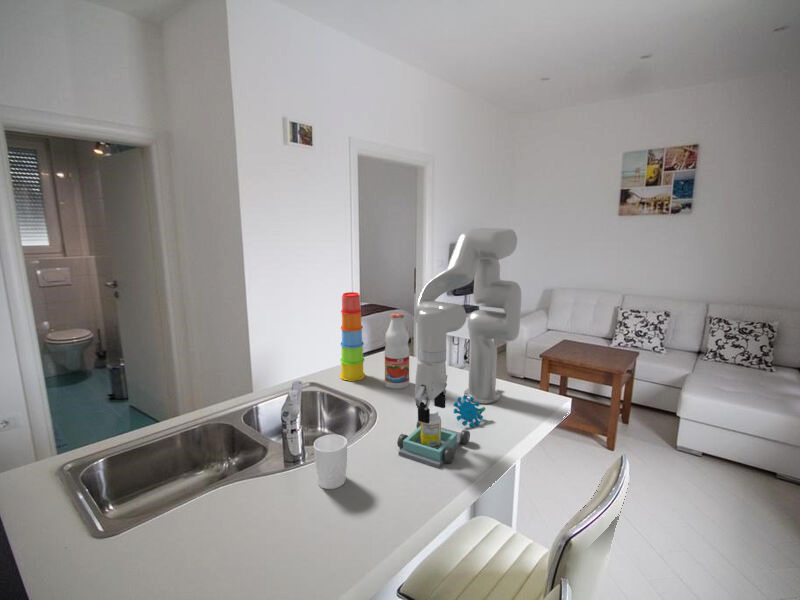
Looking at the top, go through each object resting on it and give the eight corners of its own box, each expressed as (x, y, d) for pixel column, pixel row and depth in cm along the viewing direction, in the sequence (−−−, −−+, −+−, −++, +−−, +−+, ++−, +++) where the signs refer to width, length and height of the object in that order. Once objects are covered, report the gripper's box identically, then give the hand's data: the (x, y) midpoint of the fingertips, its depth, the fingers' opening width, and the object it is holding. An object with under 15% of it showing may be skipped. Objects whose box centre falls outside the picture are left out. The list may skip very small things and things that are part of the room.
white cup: (320, 495, 94) (319, 455, 92) (311, 476, 101) (309, 439, 99) (353, 485, 98) (352, 446, 96) (341, 467, 104) (340, 431, 103)
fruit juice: (406, 379, 164) (406, 311, 159) (411, 388, 155) (411, 316, 150) (383, 381, 163) (382, 311, 158) (386, 390, 154) (386, 317, 149)
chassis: (423, 425, 126) (424, 414, 126) (471, 438, 119) (471, 427, 118) (393, 453, 111) (393, 440, 111) (445, 470, 103) (445, 457, 103)
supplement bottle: (428, 437, 117) (428, 404, 115) (444, 444, 114) (445, 409, 112) (416, 445, 113) (416, 410, 111) (432, 452, 110) (433, 417, 108)
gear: (458, 425, 123) (452, 394, 129) (450, 432, 127) (444, 401, 133) (490, 425, 127) (482, 394, 132) (481, 431, 131) (474, 401, 137)
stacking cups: (370, 375, 169) (369, 292, 163) (354, 383, 160) (353, 295, 154) (350, 370, 174) (348, 290, 168) (334, 378, 166) (332, 293, 159)
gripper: (433, 343, 118) (433, 399, 121) (403, 362, 103) (404, 424, 107) (458, 347, 114) (457, 404, 117) (429, 367, 99) (430, 432, 103)
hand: (432, 414), depth 112 cm, fingers open, 9 cm apart
